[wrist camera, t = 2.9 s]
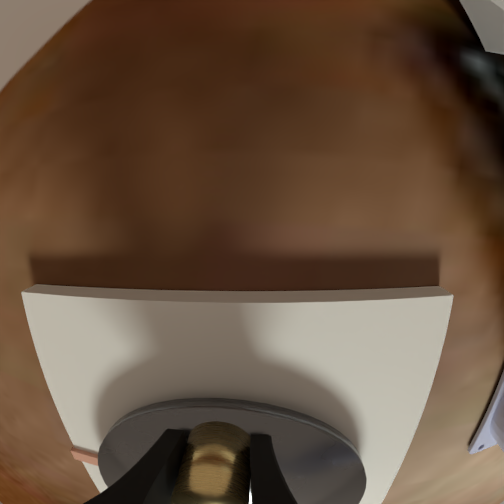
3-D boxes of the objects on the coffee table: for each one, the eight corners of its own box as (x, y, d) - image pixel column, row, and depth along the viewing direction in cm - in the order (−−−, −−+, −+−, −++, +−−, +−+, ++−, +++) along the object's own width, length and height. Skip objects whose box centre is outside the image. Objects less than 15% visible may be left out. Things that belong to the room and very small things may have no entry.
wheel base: (439, 285, 11) (460, 299, 10) (358, 526, 16) (361, 542, 14) (33, 283, 12) (11, 294, 11) (125, 516, 16) (119, 531, 15)
